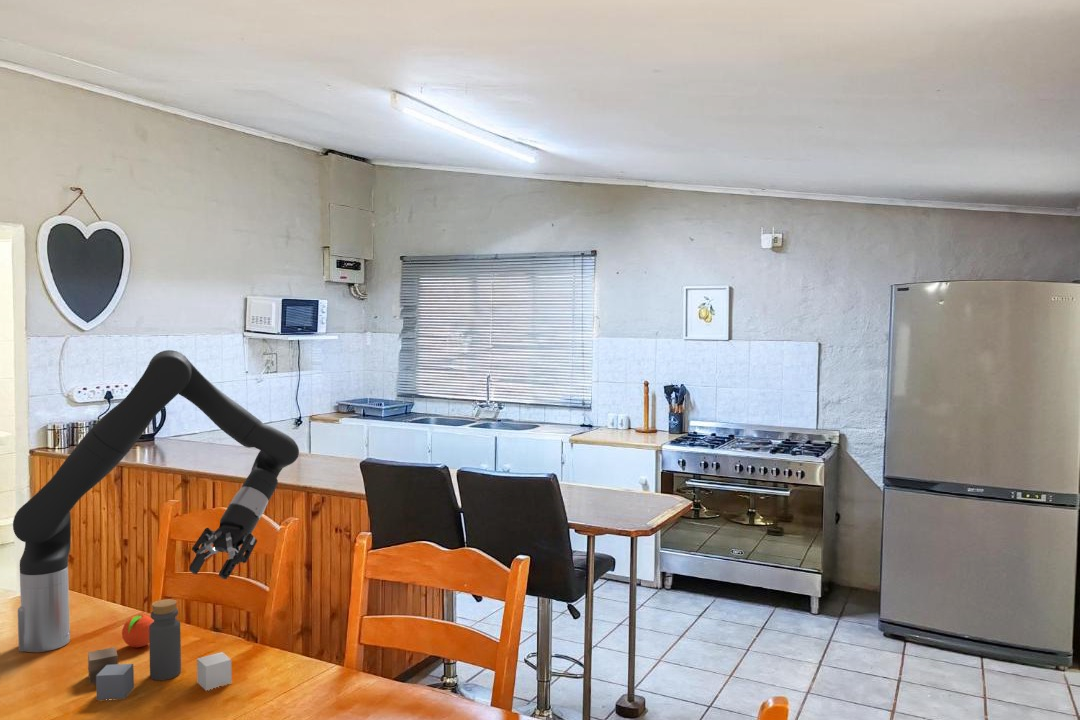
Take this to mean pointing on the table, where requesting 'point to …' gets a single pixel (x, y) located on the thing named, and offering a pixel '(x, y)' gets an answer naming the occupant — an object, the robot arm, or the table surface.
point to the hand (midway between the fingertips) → (207, 574)
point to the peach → (137, 631)
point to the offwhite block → (214, 671)
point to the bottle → (164, 641)
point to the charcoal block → (115, 681)
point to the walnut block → (100, 661)
